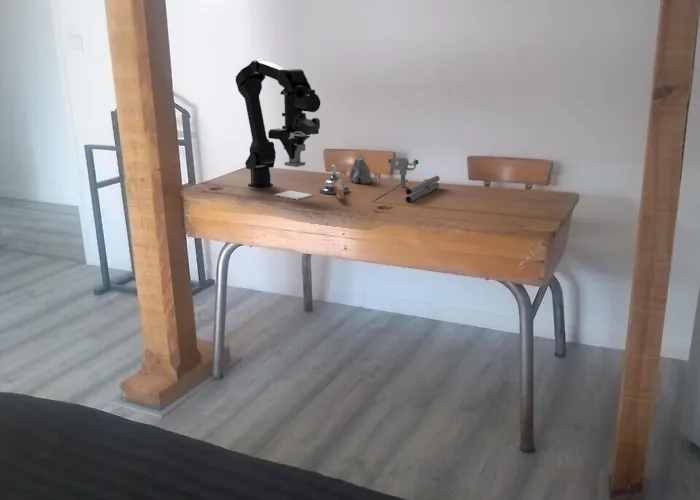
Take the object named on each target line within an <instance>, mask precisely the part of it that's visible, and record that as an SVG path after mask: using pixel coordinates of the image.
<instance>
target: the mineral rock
mask: <svg viewBox="0 0 700 500" xmlns="http://www.w3.org/2000/svg"><path fill="white" fill-rule="evenodd" d="M349 179H351V181H352V182H354V183H355V184H362V185H365V184H368V183H371V182H372V181H373V179H372V175H371V170H370V168H369V166H368V164H367V163H366V161H365V158H364V155H363V154H362V153H360V154H359V155H358V156H357V157H356V158H355V159H354V162H353V165H351V167H350V170H349Z"/></svg>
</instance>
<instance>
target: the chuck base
mask: <svg viewBox="0 0 700 500" xmlns="http://www.w3.org/2000/svg"><path fill="white" fill-rule="evenodd" d="M343 189H344V195H345V194H348V193H349V191H350V187H349V186H348V187H347V186H344V185H343ZM318 191H319V193H321V194H323V195H335V196H337V195H336V193H335V192H334V190H329V189H326V188H325V185H324V186H320V187H319V190H318Z"/></svg>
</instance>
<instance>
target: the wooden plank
mask: <svg viewBox="0 0 700 500" xmlns="http://www.w3.org/2000/svg"><path fill="white" fill-rule="evenodd" d="M331 166H332V168H331V170H332V171H331V173H332V176H330V177H329V179H325V183H324V186H325V188H326V189H329V190H334V192H335V193H336V195H335V196H337V198H338V199H339V200H340V199H342V200H343V199H344V198H345V194H344V189H343V186H344V180H342V179H339V176H338V175H337V164H332V165H331Z"/></svg>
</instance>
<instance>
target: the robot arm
mask: <svg viewBox="0 0 700 500" xmlns="http://www.w3.org/2000/svg"><path fill="white" fill-rule="evenodd" d="M266 77H269V78H271V79H274V80H275V81H277V83H278V85H280V86H281V87H282V88H283V90H281V91H280V95H283V96H284V97H283V98H284V103H283V104H284V112H282V113H281V117H284V125H282V127H281V128H279V127H278V128H271V129H269V131H268V133H267V131H266V127H265V123H264V122H265V121H264V116H263V110H262V106H261V105H262V104H261V99H260V94H261V92H262V89H263V84H262V83H263V81H265V79H266ZM235 84H236V87H237V91H238V92H239V94H240V95H241V96H242V97H243V98H244V102H245V107H246V113H247V119H248V123H249V129H250V134H251V135H250V136H251V140H252V141H251V144H250V146H249V156H248V157H247V159H246V161H245V162H244V164H245V169H248V170H250V183H247V186H250V187H255V188H265V187H271V186H273V185H274V183H273V182H271V171H270V168H271V169H272V168H273V169H274V167H275V163H276V156H277V155H276V153H277V152H276V149H275V143H274V141H270V139H274V140H279V141H280V142H281V144H282V146H283V149H284V148H285V149H284V151H286V154H287V155H288V159H289V158H290V159H293V156H294V143H299V144H305V142H306V140H308V139H309V138H310V137H311V135H318V134H319V132H320V131H319V130H320V128H321V127H320V126H321V123H320V122H321V120H320V118H318V117H312V119H311V118H310V119H309V118H307V114H306V112H308V113H315V112H317V111H318V110H319V109H320V107H321V99H320V97H319V95H318V94H316V89H312V87H311V84H310V82H309V81H308V78H307V76H306V74H305V71H303V69H301V68H287V67H282V66H280V65H277V64H275V63H272V62H270V61H268V60H266V59H254V60H252V61H251V62H250V63H249V64H248V65H246V66H245V67H243V68H242V69H240V70H239V72H238V73H237V75H236V76H235ZM267 134H268V137H267ZM301 152H302V151H300V154H301Z"/></svg>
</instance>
